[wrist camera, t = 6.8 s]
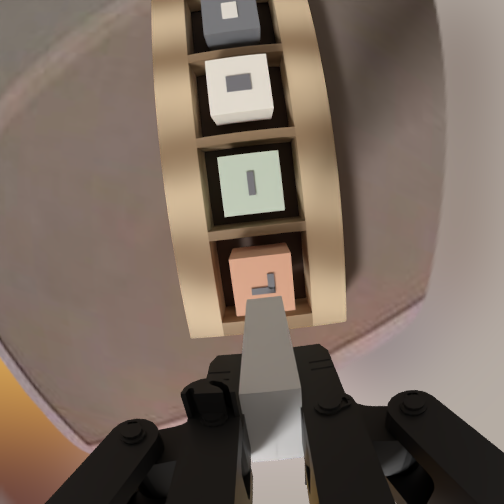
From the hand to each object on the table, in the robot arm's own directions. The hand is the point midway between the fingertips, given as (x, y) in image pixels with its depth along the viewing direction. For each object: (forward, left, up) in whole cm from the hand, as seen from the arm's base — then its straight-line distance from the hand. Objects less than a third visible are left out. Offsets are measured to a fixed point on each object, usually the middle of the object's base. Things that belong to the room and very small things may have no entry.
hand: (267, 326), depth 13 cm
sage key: (-6, 0, -9) cm, 11 cm away
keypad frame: (-9, 0, -10) cm, 14 cm away
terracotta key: (0, 0, -9) cm, 9 cm away
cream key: (-12, 0, -9) cm, 15 cm away
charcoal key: (-18, 0, -9) cm, 20 cm away
